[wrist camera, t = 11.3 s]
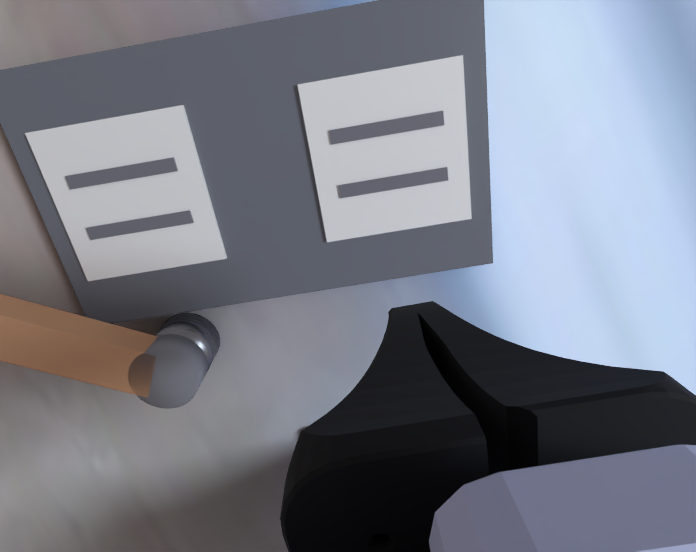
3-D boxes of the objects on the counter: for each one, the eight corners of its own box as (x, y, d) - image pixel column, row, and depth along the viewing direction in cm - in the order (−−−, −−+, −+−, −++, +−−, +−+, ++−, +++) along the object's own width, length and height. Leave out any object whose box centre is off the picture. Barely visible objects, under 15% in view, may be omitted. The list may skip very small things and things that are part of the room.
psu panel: (487, 257, 21) (494, 265, 20) (98, 319, 22) (86, 329, 21) (476, -13, 17) (485, -22, 16) (-7, 76, 18) (-28, 73, 17)
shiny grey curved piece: (226, 359, 23) (216, 380, 21) (171, 367, 23) (157, 389, 21) (210, 309, 22) (198, 326, 20) (153, 318, 22) (135, 336, 20)
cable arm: (213, 344, 20) (204, 361, 18) (200, 395, 21) (190, 415, 20) (-150, 244, 18) (-192, 255, 16) (-144, 307, 19) (-183, 322, 17)
